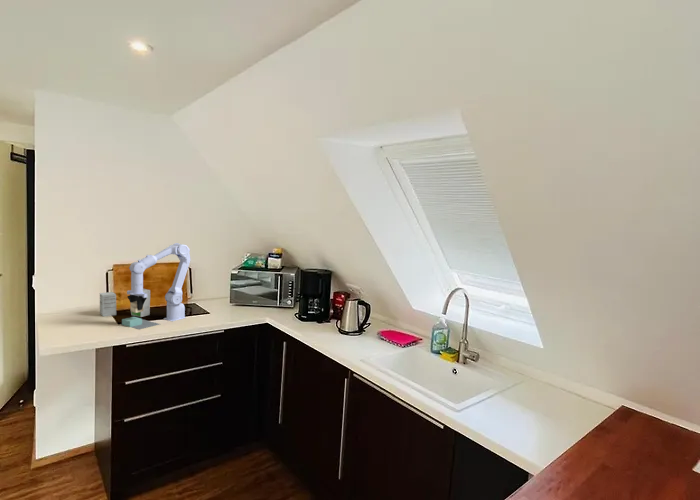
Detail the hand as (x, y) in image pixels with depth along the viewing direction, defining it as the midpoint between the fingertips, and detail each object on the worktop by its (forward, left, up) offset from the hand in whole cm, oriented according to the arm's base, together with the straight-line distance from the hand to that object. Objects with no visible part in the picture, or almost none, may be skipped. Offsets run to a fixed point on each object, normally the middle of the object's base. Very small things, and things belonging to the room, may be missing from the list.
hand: (137, 309), depth 230 cm
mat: (-1, +1, -9) cm, 9 cm away
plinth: (+2, -2, -9) cm, 9 cm away
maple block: (0, 0, -1) cm, 1 cm away
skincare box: (-13, -16, -9) cm, 23 cm away
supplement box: (-3, -32, -9) cm, 34 cm away
